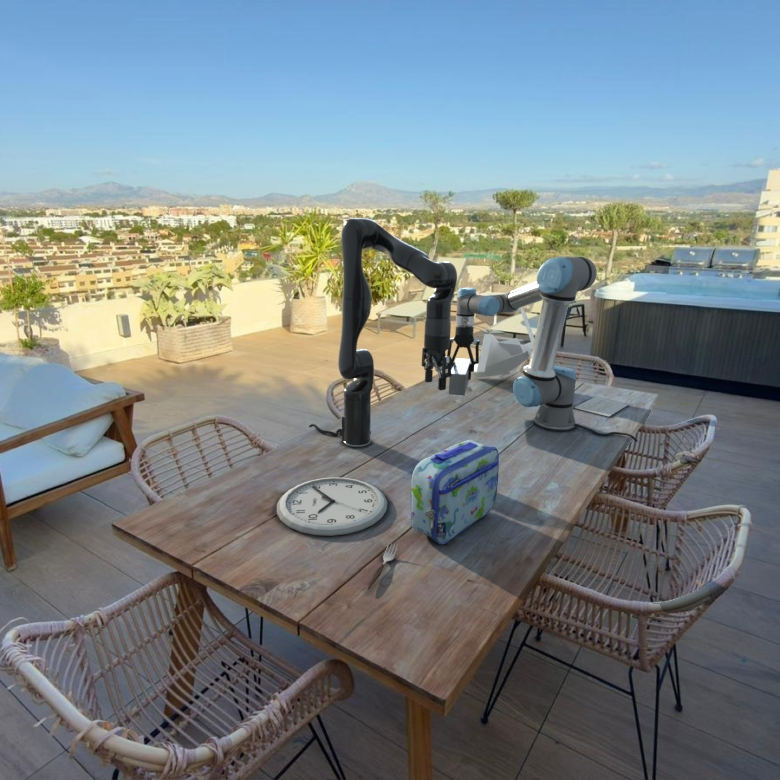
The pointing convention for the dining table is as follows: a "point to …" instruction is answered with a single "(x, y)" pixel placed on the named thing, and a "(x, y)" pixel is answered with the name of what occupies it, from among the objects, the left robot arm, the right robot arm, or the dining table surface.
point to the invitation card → (601, 406)
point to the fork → (386, 558)
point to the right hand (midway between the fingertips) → (461, 378)
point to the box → (459, 377)
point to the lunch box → (453, 489)
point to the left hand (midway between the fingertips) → (435, 385)
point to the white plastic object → (502, 354)
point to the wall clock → (331, 506)
